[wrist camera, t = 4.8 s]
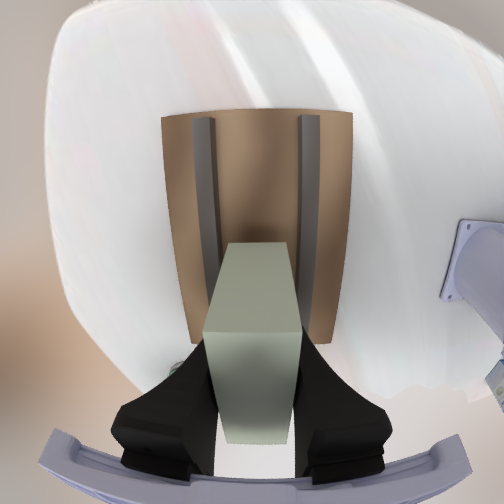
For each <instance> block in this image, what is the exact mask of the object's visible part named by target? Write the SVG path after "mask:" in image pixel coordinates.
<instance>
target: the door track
mask: <svg viewBox="0 0 504 504" xmlns="http://www.w3.org/2000/svg"><path fill="white" fill-rule="evenodd" d="M161 127H162V144H163V158H164V170H165V181H166V191H167V200H168V209H169V217H170V225H171V232H172V240H173V247H174V253H175V260H176V266H177V272H178V278H179V284H180V289H181V295H182V300H183V305H184V310H185V315H186V320H187V325H188V330H189V334H190V339H191V343H192V344H199V343H200V341H201V340H202V339H203V333H202V331H203V328H204V324H205V321H206V317H207V314H208V310H209V307H210V303H211V300H212V296H213V293H214V289H215V286H216V283H217V279H218V276H219V273H220V269H221V266H222V262H223V259H224V256H225V253H226V249H227V246H228V243H267V242H286V244H287V250H288V255H289V260H290V265H291V270H292V276H293V281H294V286H295V292H296V298H297V303H298V309H299V315H300V320H301V324H302V325H303V326H304V328H305V330H306V332H307V334H308V336H309V338H310V339H311V341H312V343H313V344H327V343H331V341H332V336H333V330H334V325H335V320H336V314H337V308H338V302H339V296H340V289H341V283H342V276H343V268H344V260H345V252H346V243H347V233H348V223H349V211H350V197H351V180H352V151H353V113H350V112H340V111H327V110H311V109H238V110H221V111H209V112H199V113H190V114H181V115H174V116H167V117H161Z"/></svg>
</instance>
